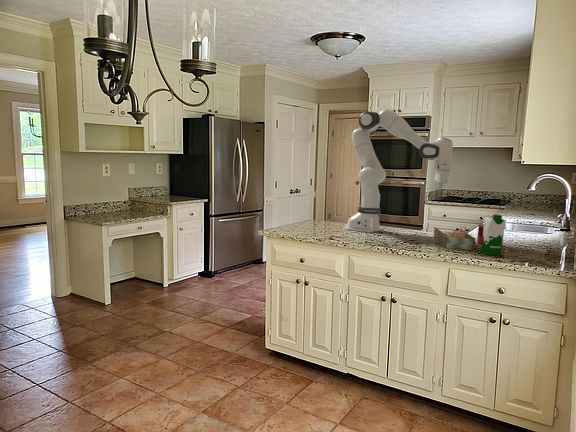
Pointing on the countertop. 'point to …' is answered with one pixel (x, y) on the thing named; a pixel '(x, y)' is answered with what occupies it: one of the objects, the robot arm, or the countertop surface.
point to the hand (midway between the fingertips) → (439, 190)
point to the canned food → (480, 234)
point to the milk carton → (493, 235)
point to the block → (458, 234)
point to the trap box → (454, 240)
